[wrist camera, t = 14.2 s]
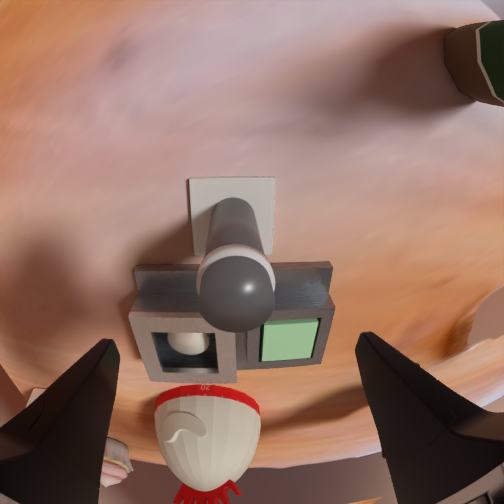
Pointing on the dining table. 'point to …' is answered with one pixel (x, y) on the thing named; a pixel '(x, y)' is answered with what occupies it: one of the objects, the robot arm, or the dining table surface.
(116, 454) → the cupcake
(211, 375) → the grey flat framed piece
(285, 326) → the on button
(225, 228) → the gray capped cylinder
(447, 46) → the beer bottle
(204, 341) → the button
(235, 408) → the kitchen timer
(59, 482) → the robot arm
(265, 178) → the pad
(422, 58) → the dining table surface
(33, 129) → the dining table surface
